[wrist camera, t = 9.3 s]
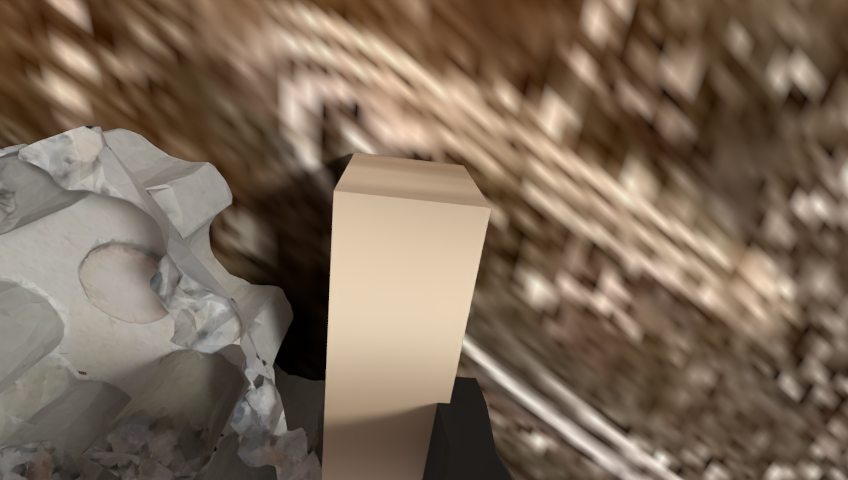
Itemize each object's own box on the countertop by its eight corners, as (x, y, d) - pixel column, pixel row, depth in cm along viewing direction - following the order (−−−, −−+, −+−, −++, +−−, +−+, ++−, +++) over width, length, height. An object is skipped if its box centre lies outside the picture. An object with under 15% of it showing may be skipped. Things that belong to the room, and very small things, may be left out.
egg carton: (-99, 177, 9) (-483, 258, 5) (222, 95, 8) (75, 115, 5) (145, 483, 13) (40, 652, 9) (364, 437, 13) (348, 593, 9)
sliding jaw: (408, 481, 13) (410, 588, 11) (334, 479, 13) (317, 588, 10) (463, 165, 9) (491, 208, 6) (354, 152, 9) (333, 190, 6)
